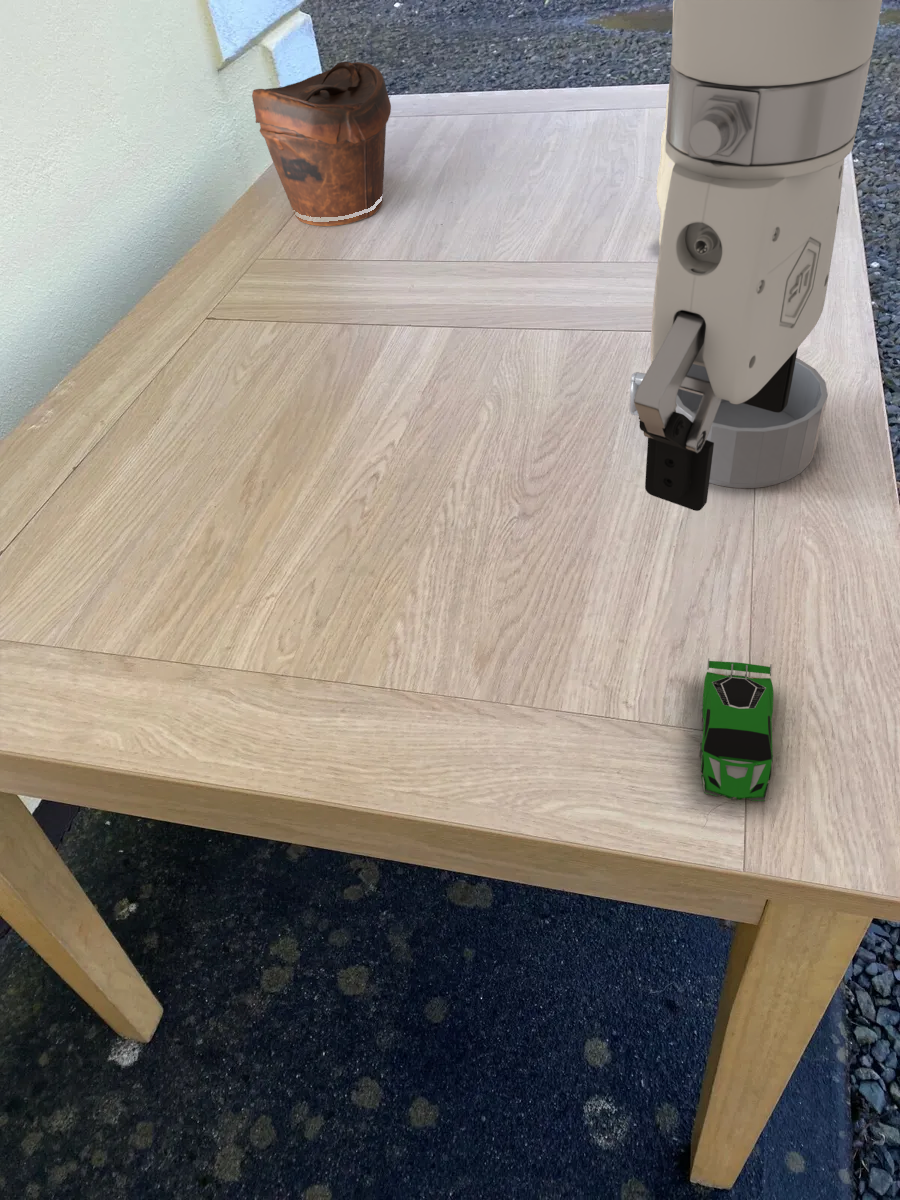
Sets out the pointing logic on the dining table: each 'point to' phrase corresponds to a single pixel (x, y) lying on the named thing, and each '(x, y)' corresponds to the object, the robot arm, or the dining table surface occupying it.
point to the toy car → (736, 732)
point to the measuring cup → (758, 431)
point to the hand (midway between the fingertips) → (718, 449)
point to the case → (328, 140)
